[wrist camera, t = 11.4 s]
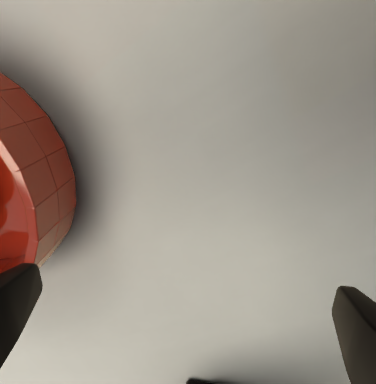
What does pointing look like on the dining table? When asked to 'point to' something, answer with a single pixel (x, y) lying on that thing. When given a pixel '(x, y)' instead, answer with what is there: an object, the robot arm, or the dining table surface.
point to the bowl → (31, 181)
